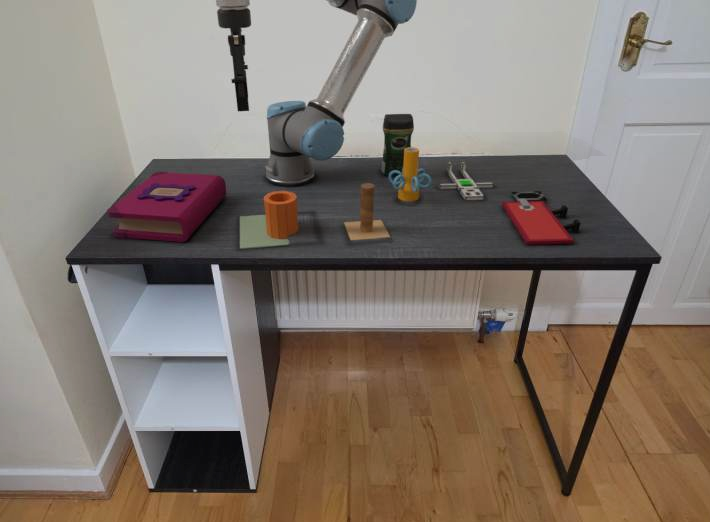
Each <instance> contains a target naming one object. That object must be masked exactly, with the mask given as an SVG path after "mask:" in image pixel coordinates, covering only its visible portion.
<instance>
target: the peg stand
mask: <svg viewBox="0 0 710 522" xmlns="http://www.w3.org/2000/svg"><path fill="white" fill-rule="evenodd" d="M374 201H375V185H374V184H373V183H369V182H368V183H367V182H366V183H362V184H361V185H360V217H359V220H357V221H345V222H343V224H344V226H345V228H346V232H347V234H348V237H349V240H350V241H359V240H372V239H383V238H391V235H390V234H389V232H388V230H387V227H386V225H385V223H384V222H383V221H382V219H374V208H375V207H374V206H375V205H374V203H375V202H374Z"/></svg>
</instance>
